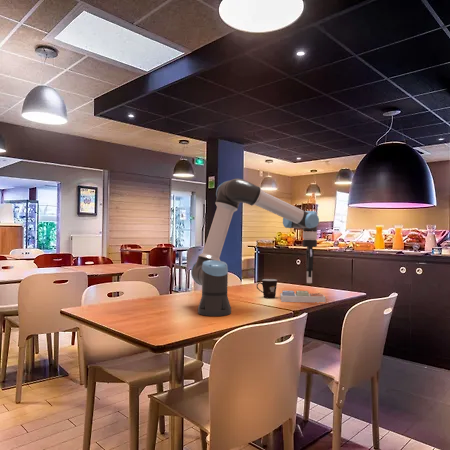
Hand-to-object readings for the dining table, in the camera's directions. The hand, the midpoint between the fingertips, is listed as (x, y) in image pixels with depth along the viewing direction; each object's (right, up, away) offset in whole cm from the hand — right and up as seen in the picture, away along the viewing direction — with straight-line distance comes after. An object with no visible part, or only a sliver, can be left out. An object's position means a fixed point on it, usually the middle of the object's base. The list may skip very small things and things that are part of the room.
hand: (309, 282), depth 211 cm
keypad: (-4, -10, 0) cm, 10 cm away
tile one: (-11, -8, +1) cm, 14 cm away
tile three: (+4, -9, 0) cm, 10 cm away
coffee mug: (-22, -10, +9) cm, 26 cm away
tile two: (-4, -8, 0) cm, 9 cm away
